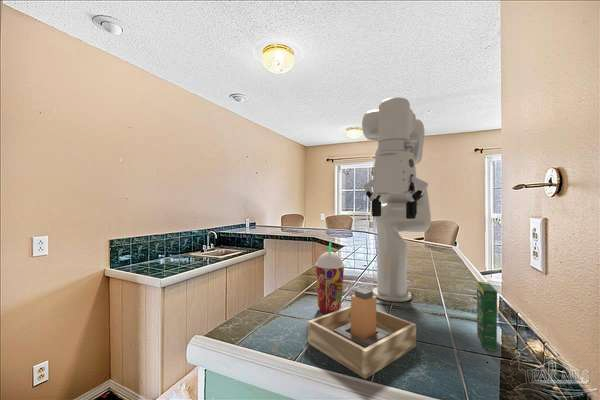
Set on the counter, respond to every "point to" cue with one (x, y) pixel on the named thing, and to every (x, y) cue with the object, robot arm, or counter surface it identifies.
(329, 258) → the smoothie
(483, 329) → the coffee box
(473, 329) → the counter surface
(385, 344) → the walled tray
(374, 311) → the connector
